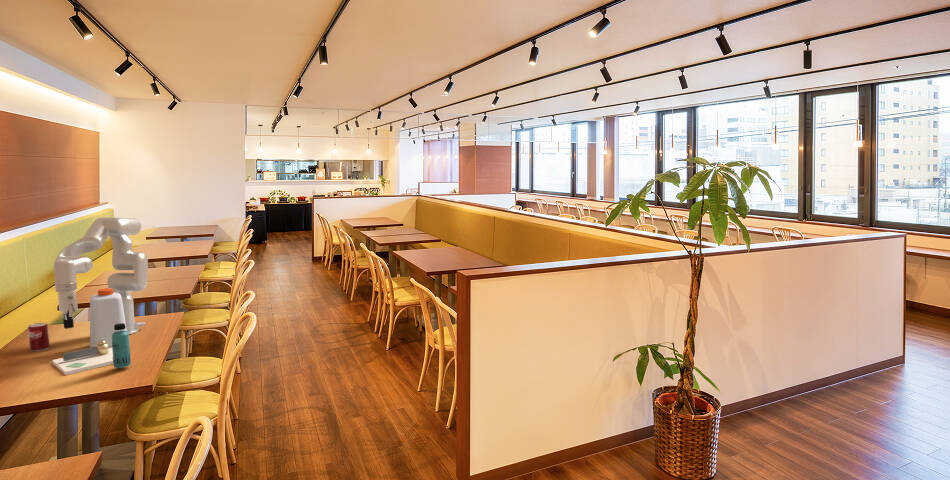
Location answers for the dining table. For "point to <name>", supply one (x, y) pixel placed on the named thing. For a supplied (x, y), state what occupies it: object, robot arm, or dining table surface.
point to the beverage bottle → (121, 347)
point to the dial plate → (84, 363)
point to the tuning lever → (87, 351)
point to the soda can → (38, 336)
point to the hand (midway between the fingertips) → (68, 327)
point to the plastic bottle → (105, 316)
